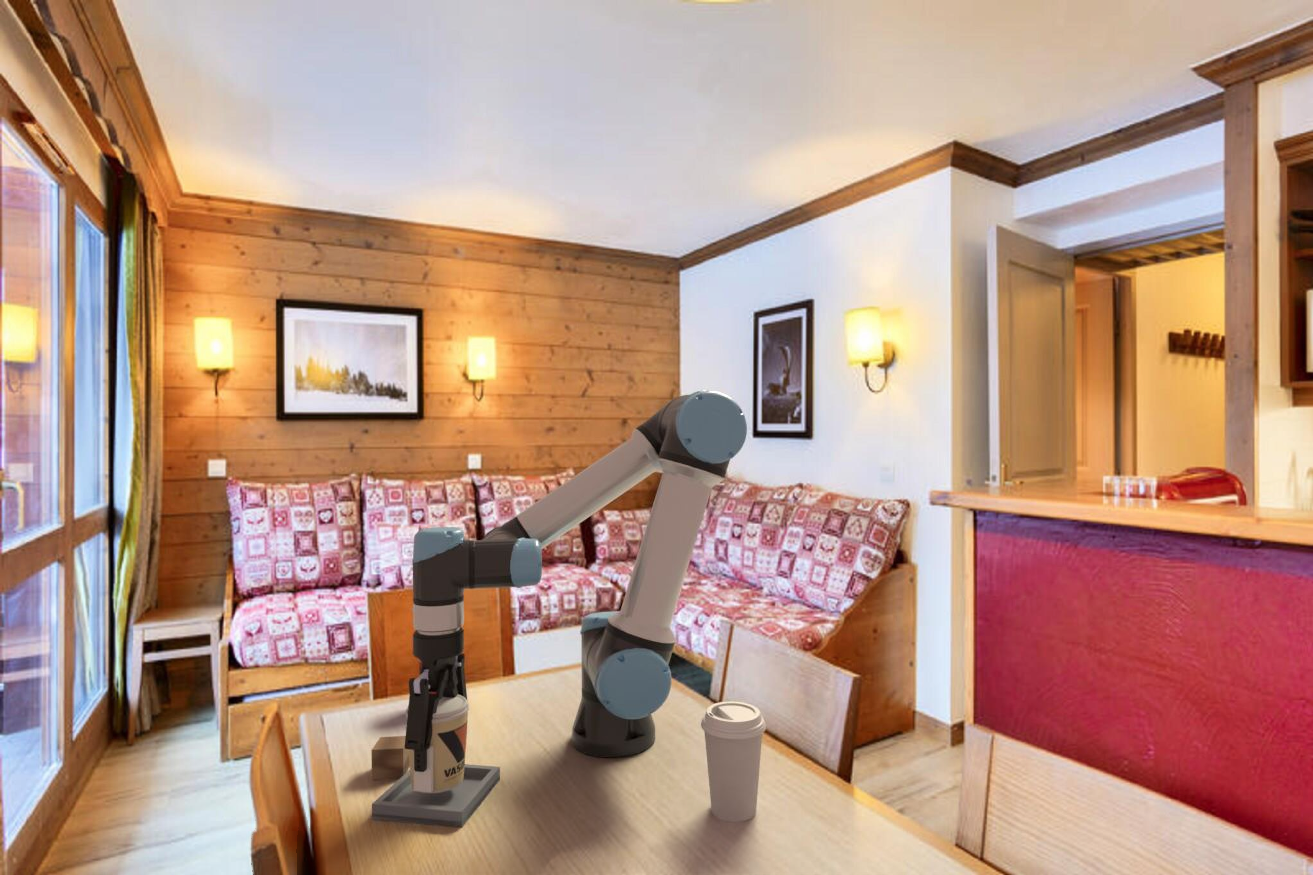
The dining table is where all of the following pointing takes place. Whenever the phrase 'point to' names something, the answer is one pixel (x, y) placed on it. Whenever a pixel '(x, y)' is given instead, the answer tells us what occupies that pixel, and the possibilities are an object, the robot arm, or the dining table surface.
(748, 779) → the coffee cup
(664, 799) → the dining table surface
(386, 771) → the walnut cube
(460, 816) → the tray
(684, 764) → the dining table surface
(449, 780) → the coffee cup
